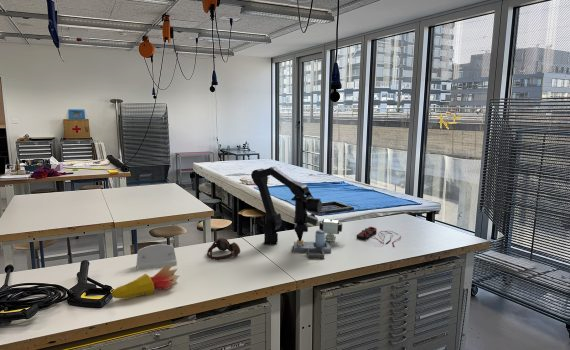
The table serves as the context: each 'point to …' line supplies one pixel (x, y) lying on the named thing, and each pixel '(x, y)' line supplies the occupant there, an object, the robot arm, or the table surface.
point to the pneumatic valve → (330, 228)
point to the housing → (311, 247)
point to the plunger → (299, 243)
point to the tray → (315, 253)
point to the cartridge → (320, 238)
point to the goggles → (224, 245)
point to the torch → (148, 283)
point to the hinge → (155, 257)
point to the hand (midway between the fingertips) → (300, 240)
